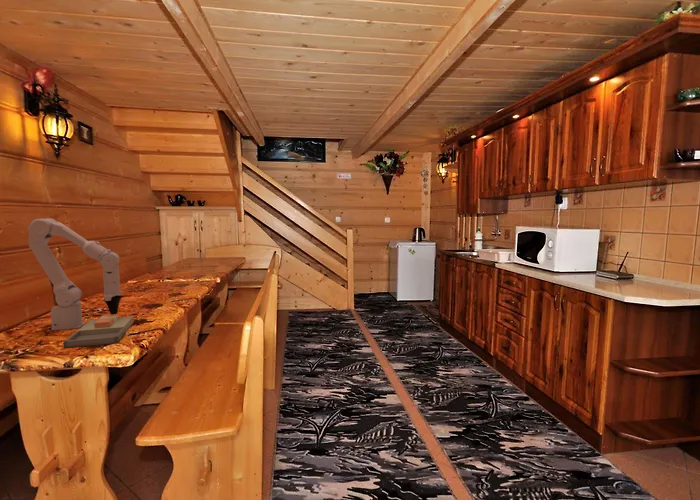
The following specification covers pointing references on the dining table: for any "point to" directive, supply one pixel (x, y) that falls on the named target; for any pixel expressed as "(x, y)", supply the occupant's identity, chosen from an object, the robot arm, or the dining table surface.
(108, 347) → the dining table surface
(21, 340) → the dining table surface
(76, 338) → the box
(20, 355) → the dining table surface
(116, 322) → the beige square slab
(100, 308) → the dining table surface
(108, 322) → the terracotta tile
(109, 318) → the cream tile
